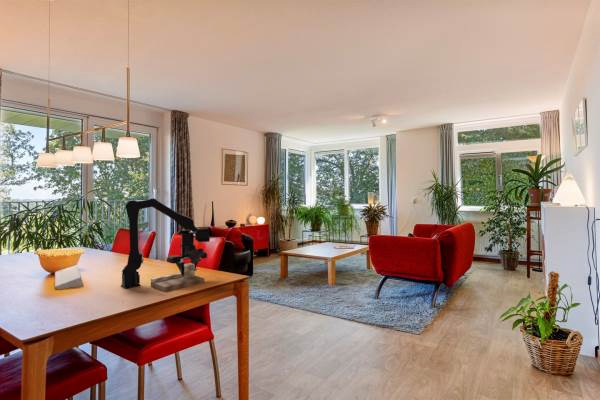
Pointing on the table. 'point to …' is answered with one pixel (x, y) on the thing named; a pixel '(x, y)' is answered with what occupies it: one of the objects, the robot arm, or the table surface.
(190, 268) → the ball-top joystick
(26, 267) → the table surface
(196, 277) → the board
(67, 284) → the white wedge doorstop
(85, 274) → the table surface
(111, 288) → the table surface
